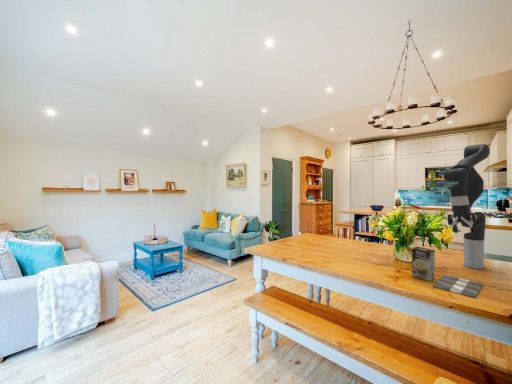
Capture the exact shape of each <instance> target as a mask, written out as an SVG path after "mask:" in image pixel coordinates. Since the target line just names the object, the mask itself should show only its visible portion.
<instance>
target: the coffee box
mask: <svg viewBox="0 0 512 384" xmlns="http://www.w3.org/2000/svg"><path fill="white" fill-rule="evenodd" d="M411 249H412V250H411V252H412V253H411V276H412V277H414V278H418V279H420V280H424V281H427V282H431V281H432V280H434V279H435V266H436V265H435V262H436V261H435V259H436V258H435V255H436V252H435V251H436V249H435V250H434V249H431V248H426V247H421V246H415V247H414V246H413V248H411Z"/></svg>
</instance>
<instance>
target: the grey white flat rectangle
mask: <svg viewBox="0 0 512 384" xmlns="http://www.w3.org/2000/svg"><path fill="white" fill-rule="evenodd" d="M483 286H484V283H482V282H478V281H474V280H470V279H466V278H465V279H464V278H462V277H461V278H460V277H456V276H452V275H448V274H442V275H441V276H440V277H438V279H437V280H436V281H435V282H434V283H433V284H432V288H437V289H440V290H442V291H446V292H447V291H448V292H449V293H451V292H452V293H455V294H459V295H461V296H465V297H469V298H473V299H476V298H477V296H478V295H479V293H480V291H481V289H482V288H483Z"/></svg>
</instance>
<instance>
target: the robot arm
mask: <svg viewBox="0 0 512 384" xmlns="http://www.w3.org/2000/svg"><path fill="white" fill-rule="evenodd" d="M490 152H491V150H490V146H489V145H488V144H486V143H479V144H469V145H467V146H465V147H464V150H463V158H462V159H461V160H459V161H458V162H457V163H456V164H455V165H453V166H451V167H449V168H447V169H446V170H445V171H444V172H443V175H442V176H443V179H444V181H446V182H448V183H452V182H458V183H457V184H455V185H452V186H449V194H450V204H451V205H450V206H451V211H452V214H450V213H449V214H447V215H446V217H447V218H446V219H447V224H448V226H451V227H452V231H453V233H455V234H459V228H458V224H459V223H460V224H461V226H462V227H464V228H469V229H470V232H465V233H464V234H463V266H464V267H467V268H470V269H476V270H483V269H484V268H485V236H486V234H485V233H486V221H487V220H486V219H487V218H486V215H485V214H484V213H481V212H479V213H477V212H471V209H472V207H473V205H474V203H475V202H476V201H477V200H478V199H479V198H480V197H481V196H482V194H483V193H484V187H485V185H484V184H485V183H484V179H483V177H482V176H481V175H480V174H479V172H478V171H477V170H476V168H475V166H476V165H478V164H479V163H481V162H482V161H484V160H486V159H487V158H488V157H489V155H490V154H491V153H490Z"/></svg>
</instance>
